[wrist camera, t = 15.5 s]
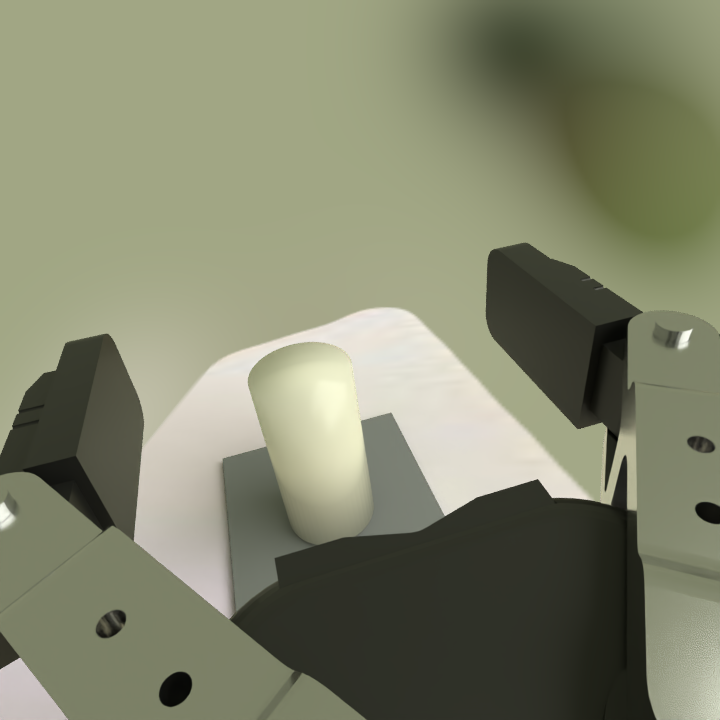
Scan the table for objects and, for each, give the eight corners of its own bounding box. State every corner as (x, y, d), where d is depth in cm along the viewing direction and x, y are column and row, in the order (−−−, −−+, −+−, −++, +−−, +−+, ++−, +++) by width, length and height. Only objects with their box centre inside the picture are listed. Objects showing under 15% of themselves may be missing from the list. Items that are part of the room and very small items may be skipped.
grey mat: (242, 665, 25) (240, 661, 25) (224, 462, 37) (222, 458, 36) (478, 586, 27) (478, 582, 27) (391, 417, 39) (391, 412, 38)
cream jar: (297, 557, 29) (254, 417, 23) (282, 490, 33) (242, 357, 27) (385, 529, 30) (364, 387, 24) (360, 467, 34) (337, 333, 28)
